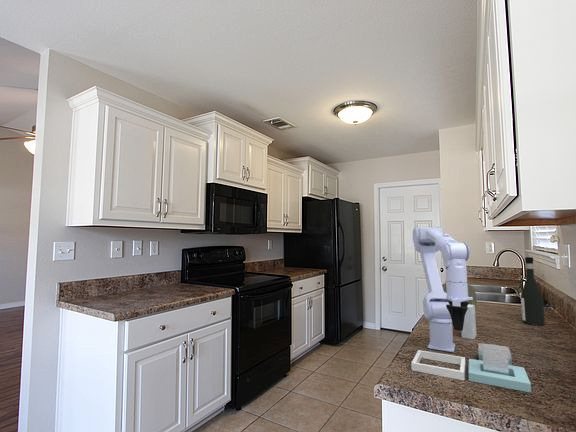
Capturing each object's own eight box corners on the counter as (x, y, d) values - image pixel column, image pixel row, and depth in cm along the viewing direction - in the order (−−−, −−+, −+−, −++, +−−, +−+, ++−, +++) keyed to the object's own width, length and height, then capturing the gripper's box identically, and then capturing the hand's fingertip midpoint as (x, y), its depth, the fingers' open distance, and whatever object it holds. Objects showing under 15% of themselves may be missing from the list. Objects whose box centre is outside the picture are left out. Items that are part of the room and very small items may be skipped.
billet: (483, 373, 87) (482, 343, 88) (507, 377, 84) (506, 346, 85) (484, 378, 84) (482, 347, 84) (509, 382, 81) (507, 350, 82)
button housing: (478, 356, 100) (478, 343, 101) (509, 360, 96) (508, 347, 97) (479, 364, 94) (478, 350, 94) (512, 369, 90) (511, 354, 90)
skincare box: (464, 334, 125) (462, 303, 127) (476, 336, 123) (475, 304, 124) (461, 337, 121) (459, 305, 122) (473, 339, 118) (472, 307, 119)
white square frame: (418, 356, 100) (418, 349, 100) (465, 364, 93) (465, 357, 93) (411, 370, 89) (411, 362, 89) (464, 380, 82) (464, 372, 82)
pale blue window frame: (469, 365, 92) (469, 358, 92) (524, 375, 86) (523, 367, 86) (468, 380, 82) (468, 372, 82) (531, 392, 75) (530, 384, 76)
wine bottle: (519, 323, 144) (515, 257, 147) (526, 321, 148) (522, 256, 151) (540, 327, 137) (536, 257, 140) (547, 324, 141) (543, 257, 144)
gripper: (471, 284, 88) (474, 334, 87) (471, 280, 101) (474, 324, 99) (443, 283, 92) (445, 331, 90) (447, 279, 104) (449, 321, 103)
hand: (458, 327), depth 95 cm, fingers open, 7 cm apart
